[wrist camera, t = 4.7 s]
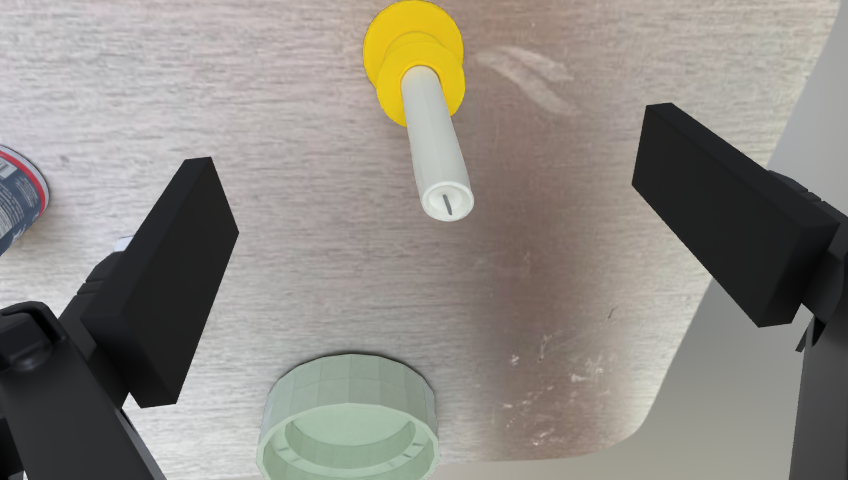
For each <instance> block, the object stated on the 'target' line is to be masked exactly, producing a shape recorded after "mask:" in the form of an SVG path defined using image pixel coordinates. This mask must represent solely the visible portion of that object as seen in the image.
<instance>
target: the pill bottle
mask: <svg viewBox="0 0 848 480" xmlns="http://www.w3.org/2000/svg"><path fill="white" fill-rule="evenodd" d="M48 200H49V194H48V188H47V185H46V183H45V181H44V179H43V177H42V176H41V174H40V173H39V172H38V171H37V169H36V168H35V167H34V166H33V165H32V164H31V163H30V162H28V161H27V160H26V159H25V158H23V157H22V156H20V155H19V154H17V153H15V152H14V151H12V150H10V149H8V148H5V147H3V146H0V256H1V255H2V254H3V253H4V252H5V251H6V250H7V249H8V248H9V247H10V246H11V245H12V244H13V243H14V242H15V241H16V240H17V239H18V238H19V237H20V236H21V235H22V234H23V233H24V232H25V231H26V230H27V229H28V228H29V227H30V226H31V225H32V224H33V223H34V222H35V221H36V220H37V219H38V218H39V217H40V216H41V214H42V213H43V212H44V211H45V209H46V207H47V204H48Z"/></svg>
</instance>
